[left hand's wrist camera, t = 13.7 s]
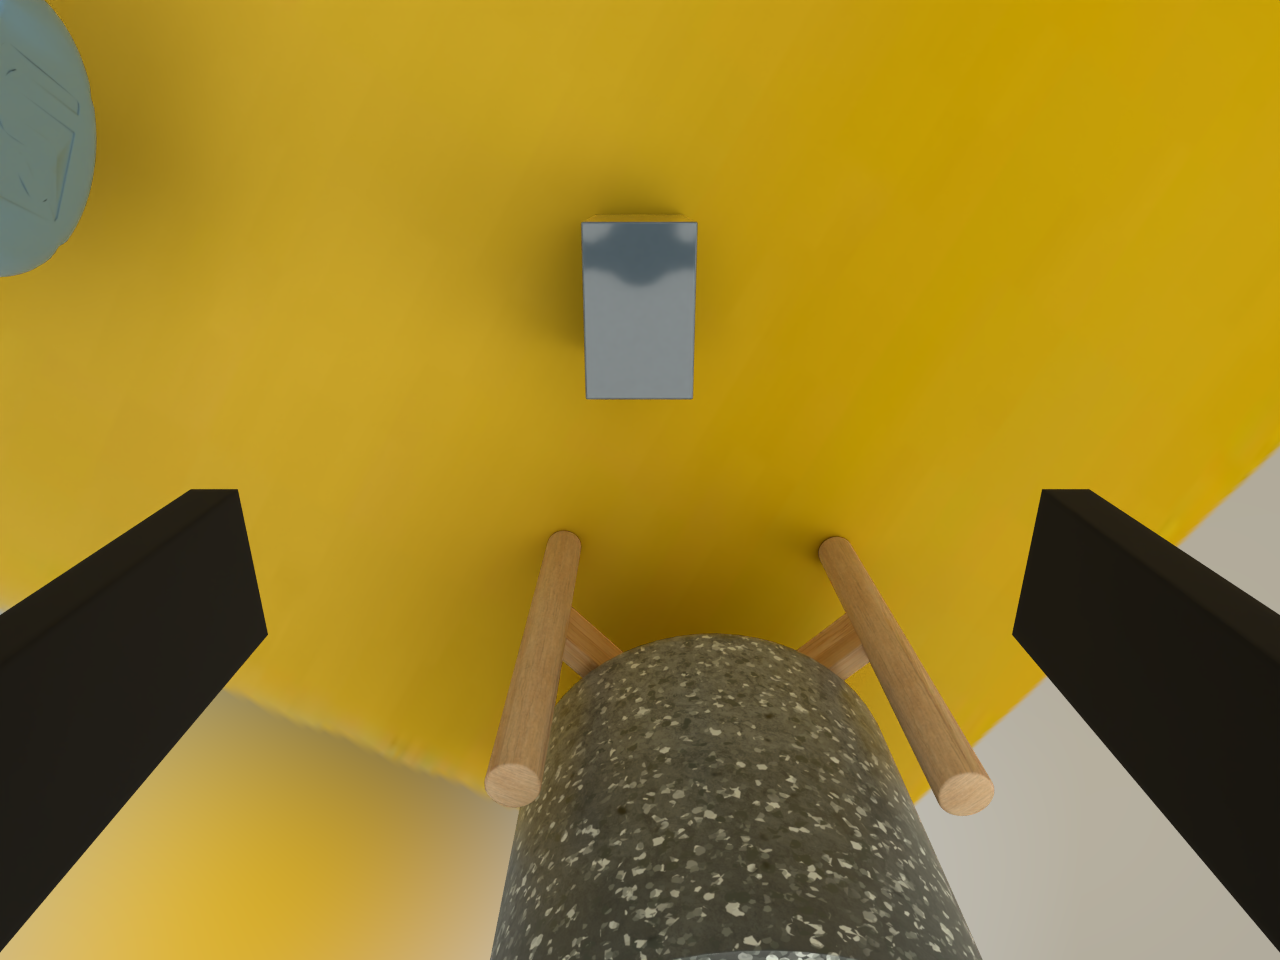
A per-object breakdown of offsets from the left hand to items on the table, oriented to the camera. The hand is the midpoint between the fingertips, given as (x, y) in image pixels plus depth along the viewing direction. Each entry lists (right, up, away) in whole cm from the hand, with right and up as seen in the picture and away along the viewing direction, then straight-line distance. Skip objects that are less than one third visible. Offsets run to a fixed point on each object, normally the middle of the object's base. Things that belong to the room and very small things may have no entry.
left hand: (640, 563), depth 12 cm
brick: (0, +14, +36) cm, 38 cm away
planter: (+4, -13, +46) cm, 48 cm away
